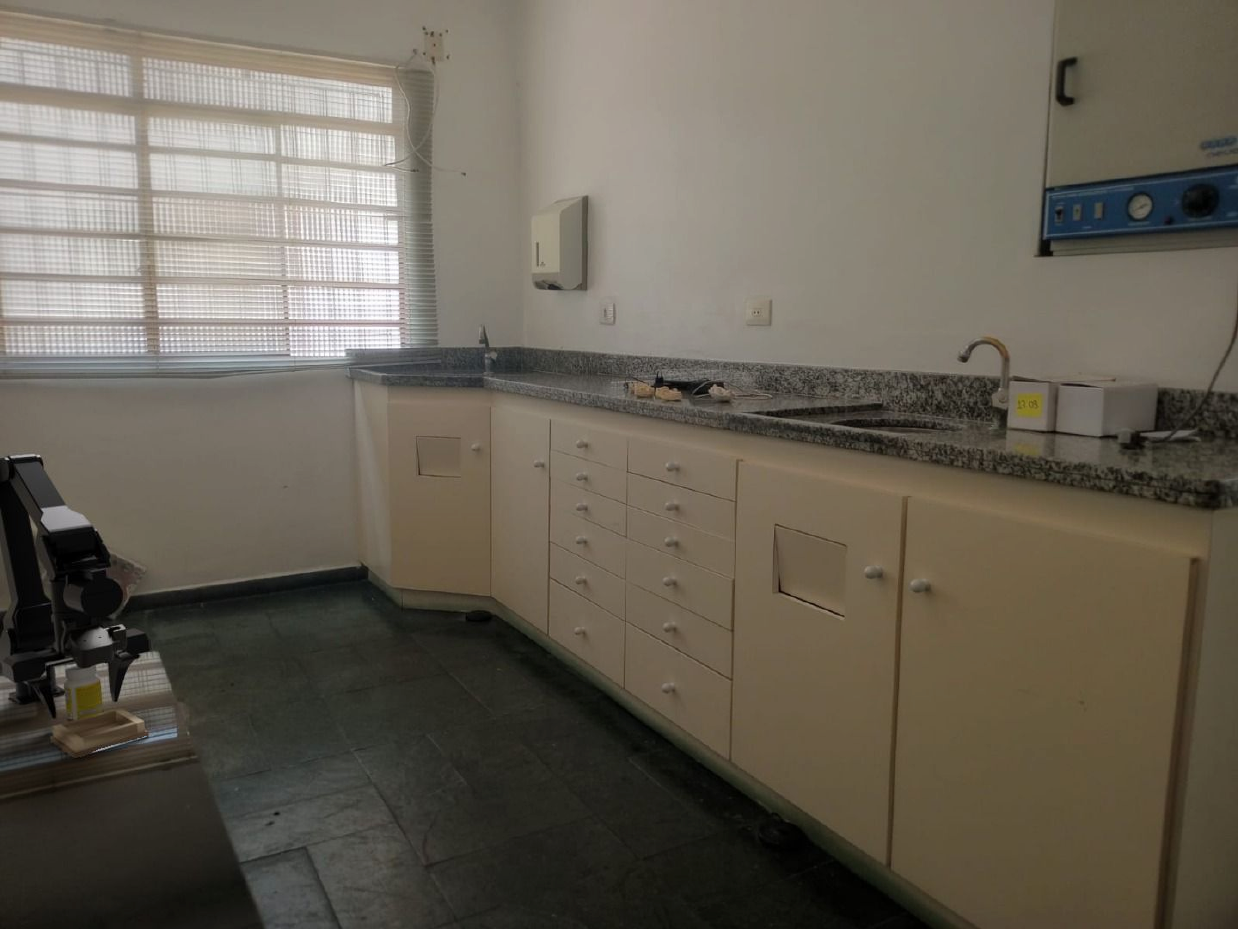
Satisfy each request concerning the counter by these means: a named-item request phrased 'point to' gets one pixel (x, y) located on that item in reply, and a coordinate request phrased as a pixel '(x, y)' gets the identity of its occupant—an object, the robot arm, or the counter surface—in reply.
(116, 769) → the counter surface
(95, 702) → the supplement bottle
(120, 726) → the jig cradle
